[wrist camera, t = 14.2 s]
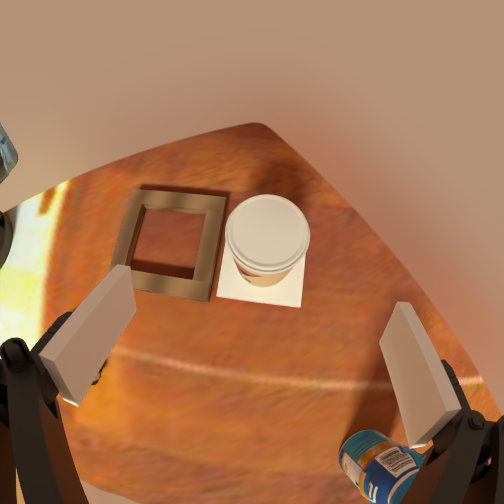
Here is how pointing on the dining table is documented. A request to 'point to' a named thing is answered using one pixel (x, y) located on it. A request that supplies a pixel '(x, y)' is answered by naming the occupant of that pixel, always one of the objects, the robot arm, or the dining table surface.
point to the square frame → (207, 249)
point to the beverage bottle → (379, 466)
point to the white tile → (278, 294)
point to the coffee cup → (266, 238)
